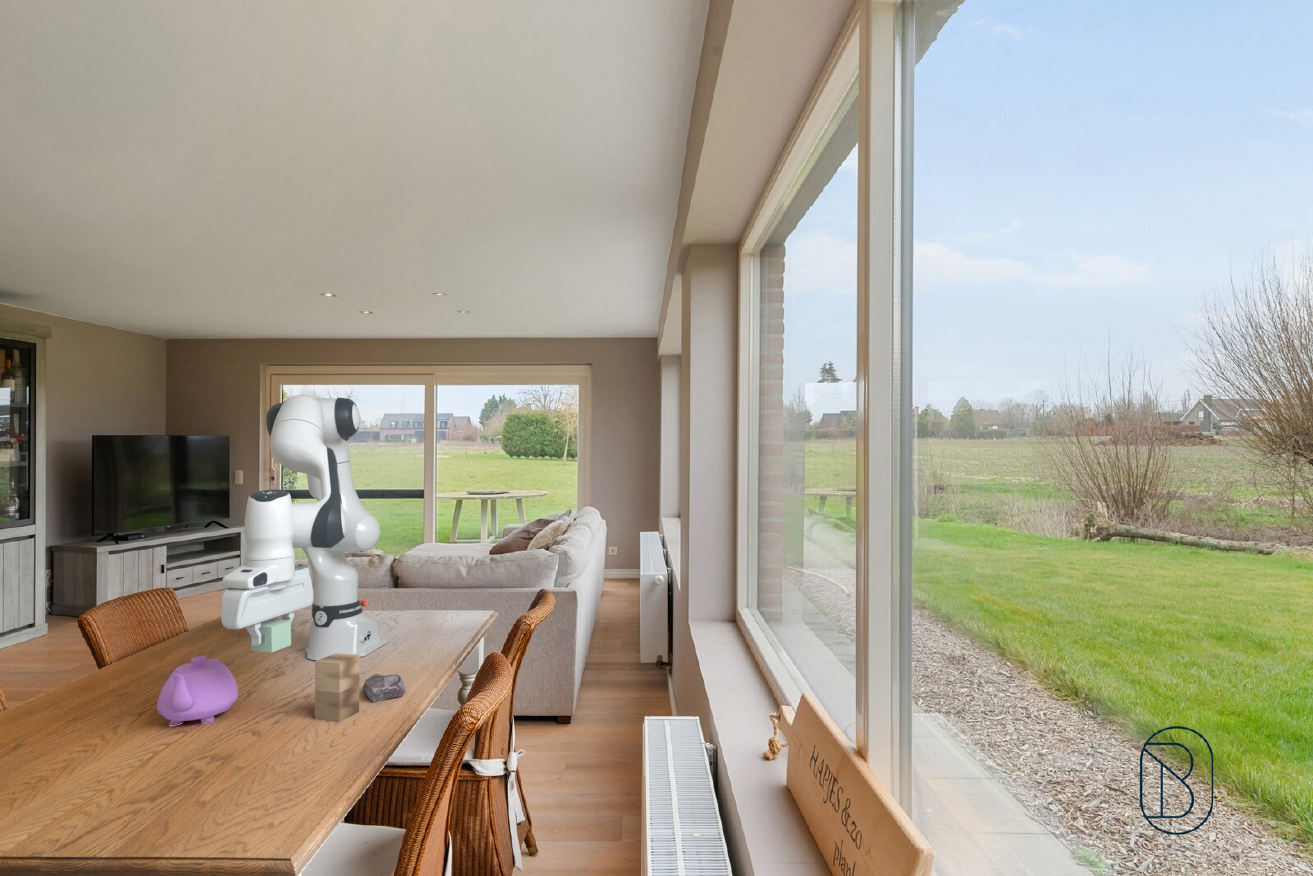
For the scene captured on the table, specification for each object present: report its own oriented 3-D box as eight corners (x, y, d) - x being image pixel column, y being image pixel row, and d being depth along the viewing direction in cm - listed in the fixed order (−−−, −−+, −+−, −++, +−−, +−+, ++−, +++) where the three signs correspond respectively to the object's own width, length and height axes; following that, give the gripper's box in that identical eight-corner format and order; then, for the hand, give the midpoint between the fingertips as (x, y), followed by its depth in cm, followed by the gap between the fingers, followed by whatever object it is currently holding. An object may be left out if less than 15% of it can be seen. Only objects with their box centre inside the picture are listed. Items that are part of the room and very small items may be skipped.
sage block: (270, 643, 143) (270, 619, 143) (291, 645, 142) (290, 620, 142) (251, 650, 139) (250, 625, 139) (271, 652, 137) (271, 627, 137)
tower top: (335, 681, 150) (335, 653, 150) (359, 683, 148) (359, 655, 148) (315, 690, 144) (315, 661, 144) (339, 693, 142) (339, 663, 143)
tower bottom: (335, 709, 150) (335, 681, 150) (359, 712, 148) (359, 683, 148) (314, 719, 144) (315, 690, 144) (339, 722, 142) (339, 693, 142)
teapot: (213, 735, 136) (213, 671, 136) (131, 742, 133) (132, 676, 133) (252, 700, 155) (252, 644, 156) (181, 704, 153) (182, 647, 153)
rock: (394, 684, 166) (394, 665, 166) (409, 698, 157) (408, 678, 157) (358, 692, 161) (358, 672, 161) (371, 706, 152) (371, 685, 152)
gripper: (296, 561, 151) (296, 625, 151) (214, 580, 131) (215, 653, 131) (320, 562, 150) (321, 626, 150) (241, 582, 130) (242, 656, 130)
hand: (271, 639), depth 140 cm, fingers closed on sage block, 5 cm apart
